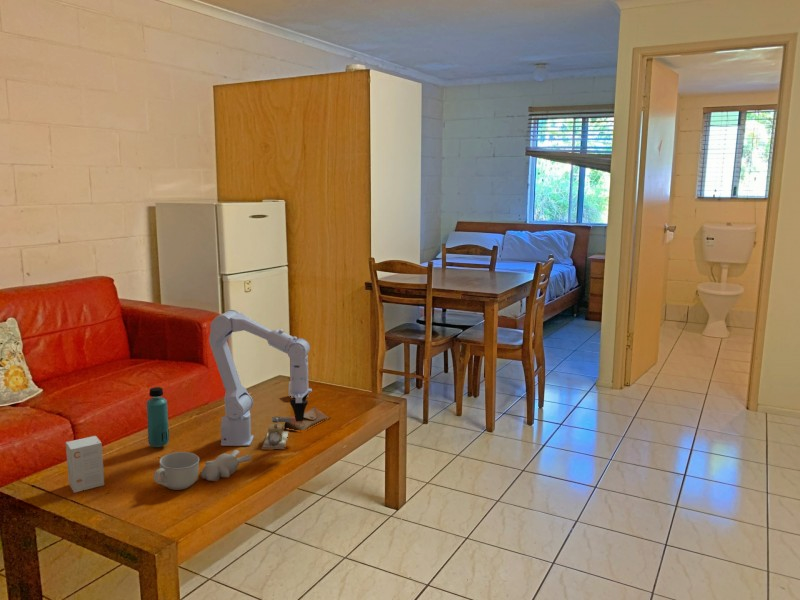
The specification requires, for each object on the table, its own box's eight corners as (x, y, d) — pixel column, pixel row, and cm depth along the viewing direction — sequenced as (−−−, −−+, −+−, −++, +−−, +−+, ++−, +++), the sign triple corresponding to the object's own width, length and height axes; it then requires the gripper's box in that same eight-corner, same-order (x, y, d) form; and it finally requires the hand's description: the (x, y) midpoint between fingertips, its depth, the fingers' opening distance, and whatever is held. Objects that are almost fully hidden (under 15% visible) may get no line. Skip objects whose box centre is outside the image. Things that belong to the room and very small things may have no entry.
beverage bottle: (162, 452, 203) (160, 392, 199) (143, 450, 204) (140, 390, 200) (173, 444, 209) (171, 386, 205) (155, 442, 210) (152, 384, 206)
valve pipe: (280, 446, 208) (280, 431, 207) (266, 446, 208) (266, 431, 207) (284, 433, 219) (284, 418, 218) (271, 433, 219) (271, 418, 218)
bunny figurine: (193, 465, 186) (232, 442, 198) (195, 480, 187) (234, 457, 199) (214, 473, 181) (253, 450, 192) (216, 489, 182) (255, 465, 194)
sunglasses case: (303, 433, 220) (295, 416, 221) (289, 439, 224) (281, 422, 224) (332, 417, 236) (324, 401, 237) (318, 423, 240) (311, 407, 240)
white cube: (302, 393, 262) (302, 379, 261) (308, 398, 257) (308, 383, 256) (288, 396, 258) (288, 381, 257) (294, 400, 254) (295, 386, 253)
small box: (98, 477, 185) (96, 435, 183) (104, 485, 180) (102, 442, 178) (68, 484, 180) (65, 441, 178) (73, 493, 175) (70, 449, 173)
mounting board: (284, 449, 207) (284, 446, 207) (262, 449, 207) (262, 446, 207) (288, 434, 220) (288, 431, 220) (268, 433, 220) (268, 431, 219)
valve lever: (271, 423, 211) (271, 418, 211) (272, 420, 213) (272, 415, 213) (302, 423, 212) (302, 418, 211) (303, 420, 214) (303, 415, 214)
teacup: (186, 472, 189) (185, 447, 188) (207, 484, 183) (207, 458, 181) (142, 489, 179) (141, 462, 177) (163, 502, 172) (162, 474, 170)
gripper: (311, 383, 199) (311, 424, 201) (312, 370, 213) (312, 408, 216) (288, 384, 198) (289, 425, 201) (290, 370, 212) (291, 409, 215)
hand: (299, 416), depth 208 cm, fingers open, 7 cm apart
